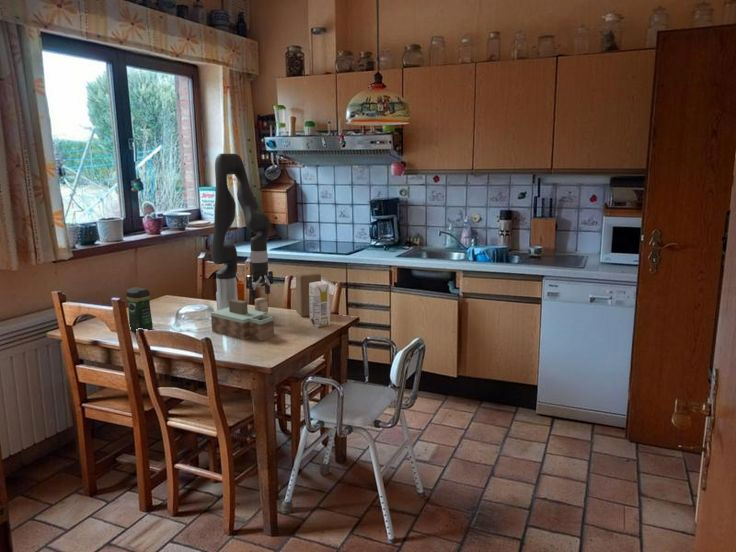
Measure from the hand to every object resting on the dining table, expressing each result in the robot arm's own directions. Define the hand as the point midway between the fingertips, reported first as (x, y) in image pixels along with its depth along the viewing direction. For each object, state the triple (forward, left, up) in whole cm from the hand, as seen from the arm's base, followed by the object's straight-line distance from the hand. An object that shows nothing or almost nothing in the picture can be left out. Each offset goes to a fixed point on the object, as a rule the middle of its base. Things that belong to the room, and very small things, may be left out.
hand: (260, 295), depth 254 cm
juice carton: (+24, +12, -13) cm, 30 cm away
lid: (+6, -15, -7) cm, 17 cm away
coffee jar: (-36, -37, -13) cm, 53 cm away
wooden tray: (+6, -15, -12) cm, 20 cm away
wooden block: (+8, +23, -13) cm, 28 cm away
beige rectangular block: (0, 0, -12) cm, 12 cm away
